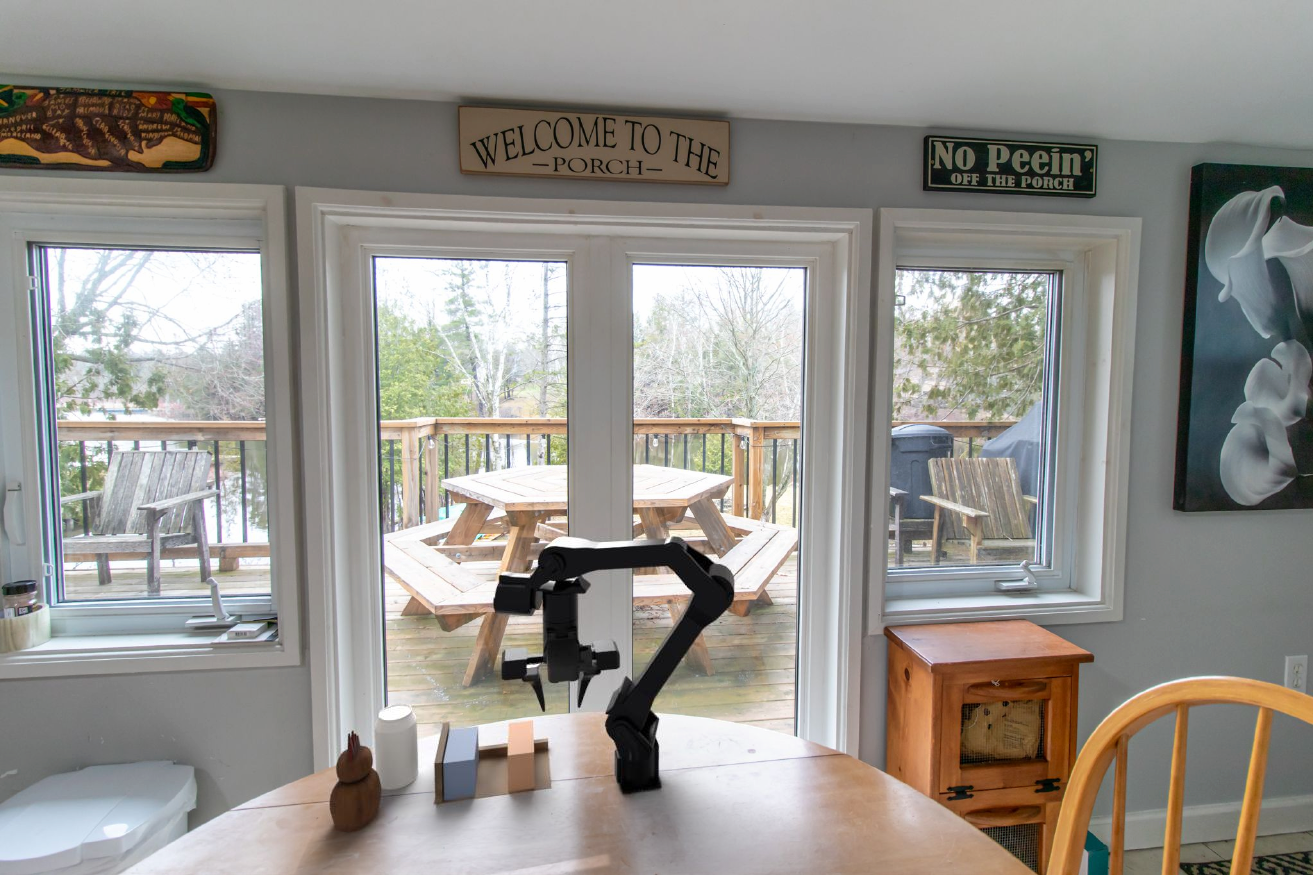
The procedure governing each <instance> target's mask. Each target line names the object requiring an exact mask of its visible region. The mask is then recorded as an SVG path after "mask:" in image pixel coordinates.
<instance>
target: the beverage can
mask: <svg viewBox="0 0 1313 875" xmlns="http://www.w3.org/2000/svg"><path fill="white" fill-rule="evenodd" d="M373 728H374V749H375V750H374V751H375V753H374V754H375V756H374V757H375V771H376V772H377V773H378V775H379V778H380V783H381V790H382V789H383V790H390V791H391V790H392V791H393V790H398V789H401V788H403V787H406V786H408V785H410V784H412V782H414V781H415V780H416V778H417V777H418V775H419V751H418V750H419V748H418V746H419V745H418V719H417V716H416V714H415V713H414V711H413V707H412V706H411V705H410V704H407V703H396V704H395V703H394V704H391V705H388V706H386V707H384V708H382V709H381V710H380V711H379V712H378V717H377V720H376V721H375V724H374V727H373Z"/></svg>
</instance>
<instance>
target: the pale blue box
mask: <svg viewBox="0 0 1313 875" xmlns="http://www.w3.org/2000/svg"><path fill="white" fill-rule="evenodd" d="M479 747H480V745H479V726H470V727H462V728H453V729H450V731H449V737H448V742H447V747H446V752H445V757H444V762H443V773H444V801H445V800H452V799H459V798H466V797H473V796H475V793H476V783H477V773H478V764H479Z"/></svg>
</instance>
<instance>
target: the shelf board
mask: <svg viewBox="0 0 1313 875" xmlns="http://www.w3.org/2000/svg"><path fill="white" fill-rule="evenodd" d="M450 730H451V728H450V722H449V721H448V722H447V721H446V722H443V723H442V727H441V730H440V735H439V739H438V744H437V748H436V752H435V754H436V755H435V758H434V763H433V765H434V766H433V767H434V768H433V769H434V772H433V773H434V800H433V806H435V805H441V804H448V803H454V802H462V801H469V800H470V801H471V800H476V799H482V798H490V797H496V796H502V795H503V796H504V795H510V794H512V795H513V794H520V793H525V792H533V791H538V790H545V789H547V790H548V789H552V777H551V768H550V764H551V763H550V754H549V738H548V737H547V738H546V737H545V738H539V739H534V783H535V788H534V789H527V790H520V791H513V792H508V742H507V743H498V744H491V745H490V744H489V745H481V746H479V764H478V773H477V783H476V793H475V796H473V797H466V798H459V799H452V800H445V801H444V773H443V762H444V757H445V752H446V747H447V742H448V737H449V731H450Z"/></svg>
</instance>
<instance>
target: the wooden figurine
mask: <svg viewBox="0 0 1313 875" xmlns="http://www.w3.org/2000/svg"><path fill="white" fill-rule="evenodd" d="M354 731H355V730H351V733H349V732H348V733H347V749H345V750H344V751H342V752H341V754H340V755H339V756H338V759H337V762H336V764H335V765H336V766H335V771H336V777H337V778H338V781H337V782H336V783H335V785H334V787H333V788H332V790H331V794H330V797H329V811H330V815H331V818H332V822H333V824H334V826H335V827H336V828H337V829H338V830H340V831H341V832H347V833H349V832H355V831H358V830H360V829H363V828H364V827H366V826H368V824H370V823H371V822H372V821H373V820H374V819H375V817H376V815H377V812H378V809H379V806H380V802H381V799H382V788H381V783H380V778H379V775H378V773H377V772H376V769H375V768H373V764H374V763H373V762H374V758H373V753H372V750H371V749H370V748H369V747H368V746H367V745H361V741H360V736H359V735H357V733H355V732H354Z"/></svg>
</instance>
